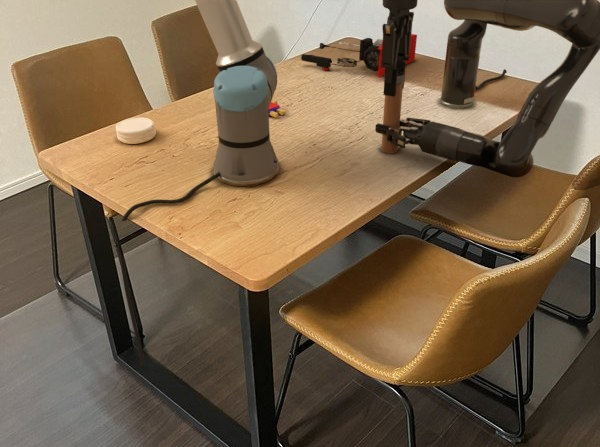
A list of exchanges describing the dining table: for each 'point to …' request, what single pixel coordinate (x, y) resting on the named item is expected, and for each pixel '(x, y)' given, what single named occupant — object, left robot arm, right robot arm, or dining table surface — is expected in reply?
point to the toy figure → (275, 109)
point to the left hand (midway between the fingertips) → (393, 91)
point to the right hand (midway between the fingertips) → (381, 124)
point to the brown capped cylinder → (392, 117)
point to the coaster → (135, 130)
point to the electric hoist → (361, 55)
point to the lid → (400, 77)
